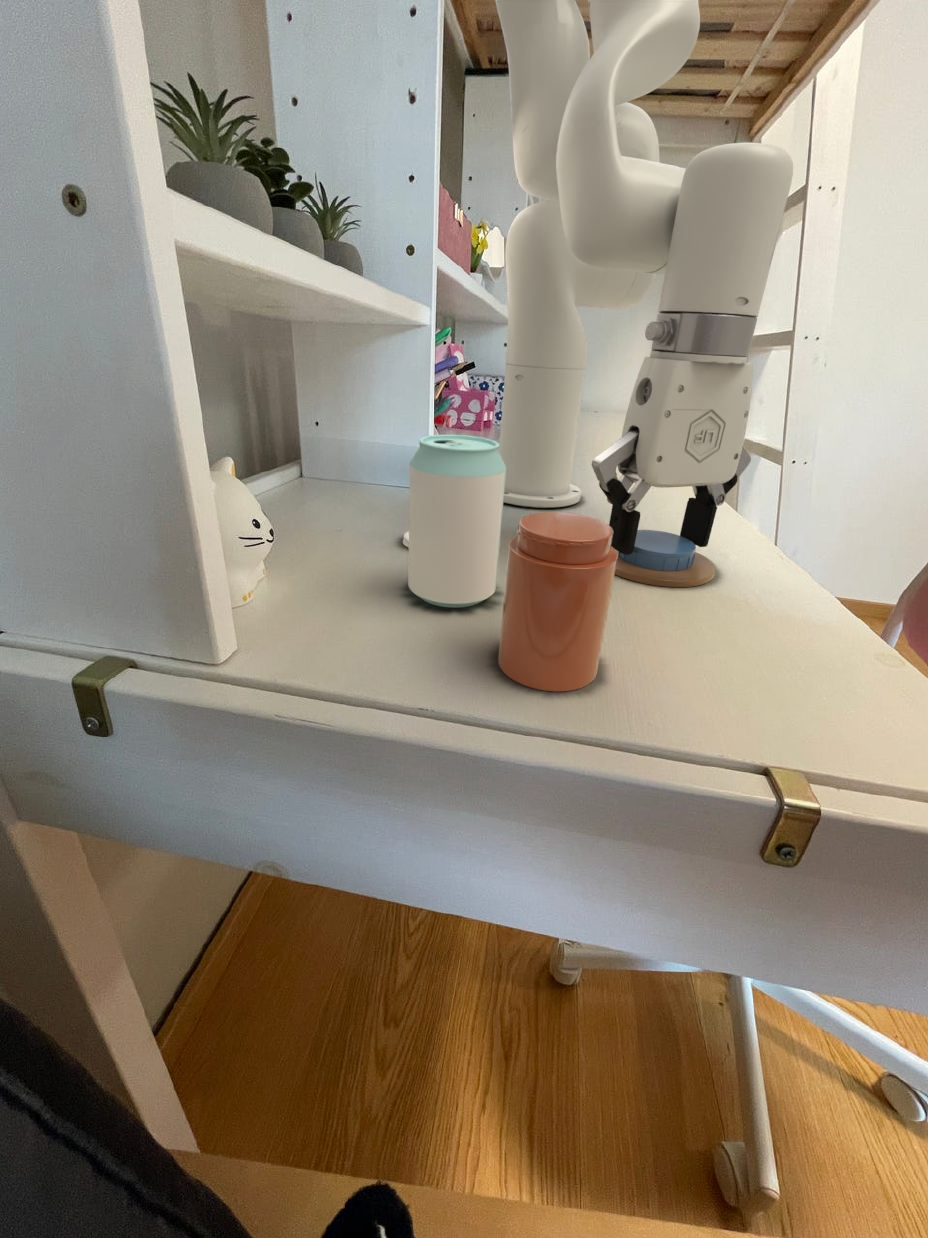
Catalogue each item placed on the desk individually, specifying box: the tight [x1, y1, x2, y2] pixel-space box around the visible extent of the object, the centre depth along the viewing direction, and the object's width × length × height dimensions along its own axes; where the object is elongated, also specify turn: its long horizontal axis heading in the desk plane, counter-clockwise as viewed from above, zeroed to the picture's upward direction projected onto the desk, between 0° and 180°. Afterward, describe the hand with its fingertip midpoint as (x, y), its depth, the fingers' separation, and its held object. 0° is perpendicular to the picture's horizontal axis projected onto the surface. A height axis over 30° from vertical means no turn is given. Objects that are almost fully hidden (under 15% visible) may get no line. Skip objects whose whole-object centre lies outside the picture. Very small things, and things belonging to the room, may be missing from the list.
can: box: [407, 434, 506, 608], centre depth 45 cm, size 7×7×12 cm
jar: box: [497, 511, 618, 692], centre depth 36 cm, size 6×6×9 cm
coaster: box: [615, 550, 717, 588], centre depth 56 cm, size 11×11×1 cm
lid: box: [619, 529, 697, 571], centre depth 55 cm, size 7×7×2 cm
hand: (657, 545), depth 55 cm, fingers open, 8 cm apart
